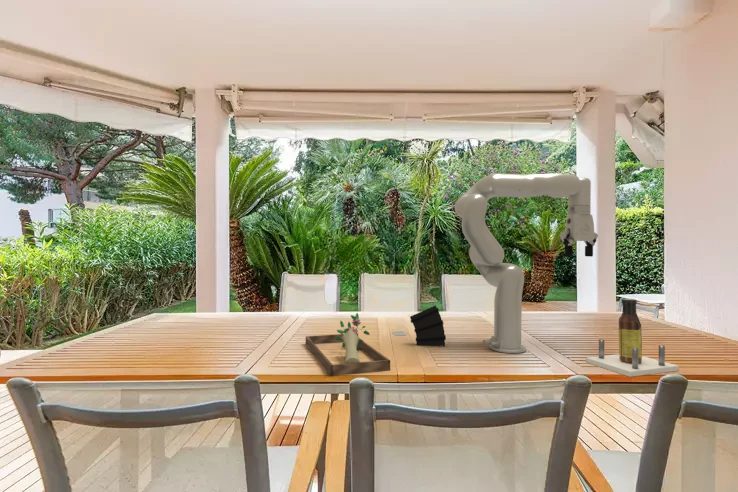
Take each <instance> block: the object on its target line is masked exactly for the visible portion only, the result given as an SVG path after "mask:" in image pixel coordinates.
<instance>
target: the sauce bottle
mask: <svg viewBox="0 0 738 492" xmlns="http://www.w3.org/2000/svg"><path fill="white" fill-rule="evenodd" d="M637 302H638V301H637V299H635V298H622V299H621V304H622V311H621V312H622V313H621V315H620V317H619V318H618V354H619V356H620V357H619V358H620V360H621V361H623V362H626V363H632V348H638V349H639V352H638V363H641V362H642V356H643V351H642V350H643V344H642V343H643V342H642V341H643V340H642V339H643V337H642V323H641V322H640V319H639V316H638V314H637Z"/></svg>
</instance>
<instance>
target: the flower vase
mask: <svg viewBox="0 0 738 492" xmlns="http://www.w3.org/2000/svg"><path fill="white" fill-rule="evenodd" d="M350 317H351V319H352V320H351V322H350V321H348V323H347V328H345V325H344V322H343V321H342V320H340V321H339V324H340V327H341V328H343V329H336V331H337V334H344V335H343V336H342V337H341V338H342V340H343V341H344V342H342V345H341V346H342V348H344V347H345V357H344V364H346V363H360V362H361V361H360V357H359V353H358V352H360V348H359V347H358V346H357V344H358V342H362V341H364V340H363V339H362V338H360V337H359V330H360V331H363V334H365V335H367V336H368V335H369V336H370V332H369V331H368V330H363V329H364V328H367V327H366V325H362V327H361V328H359V326H360V325H361V320H360V317H359V314H358V312H356V313H355V315H350ZM351 323H352V325H351ZM352 326H353V327H352ZM355 327H356V328H355ZM341 338H340V337H337V338H335V340H341ZM359 338H360V339H359Z"/></svg>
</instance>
